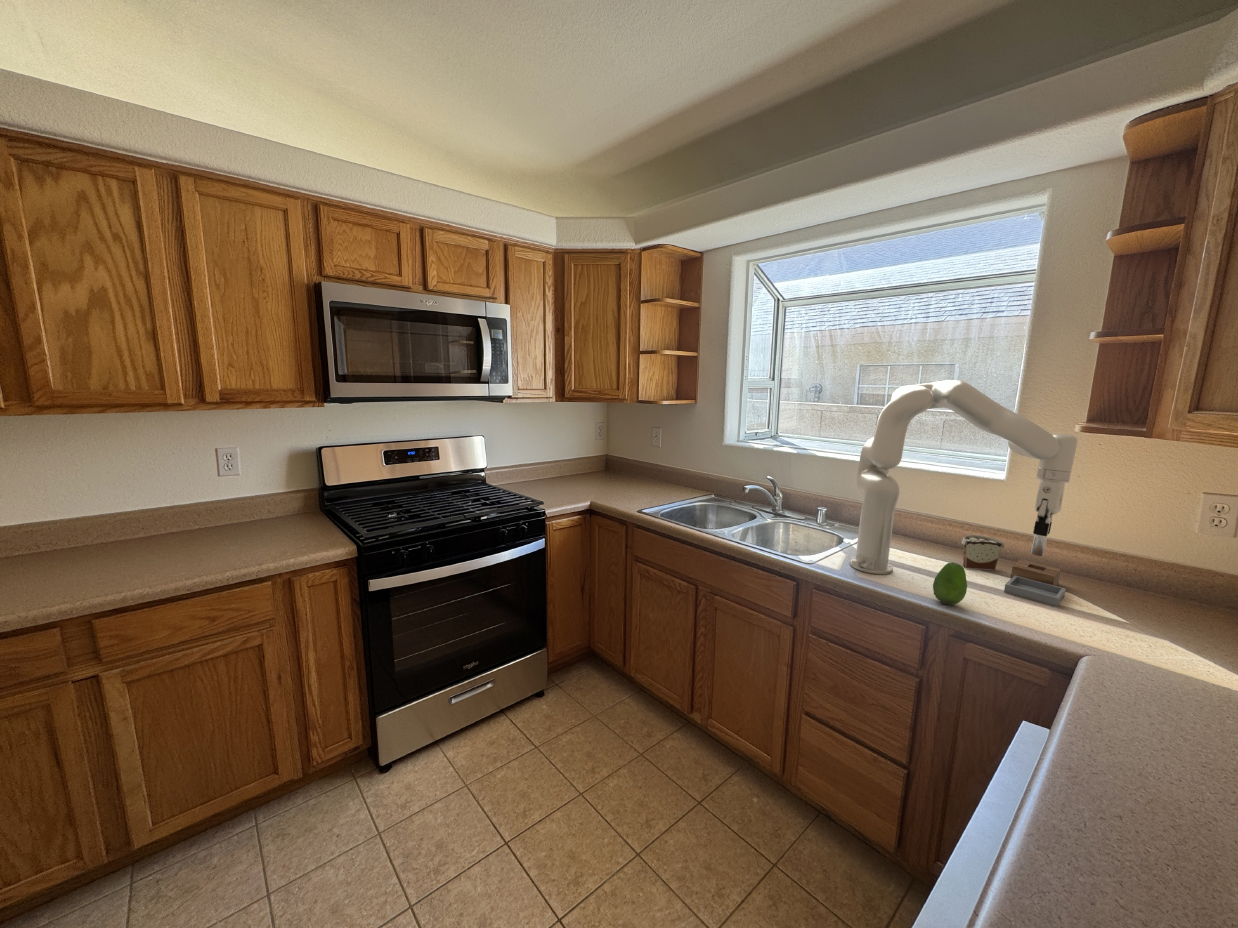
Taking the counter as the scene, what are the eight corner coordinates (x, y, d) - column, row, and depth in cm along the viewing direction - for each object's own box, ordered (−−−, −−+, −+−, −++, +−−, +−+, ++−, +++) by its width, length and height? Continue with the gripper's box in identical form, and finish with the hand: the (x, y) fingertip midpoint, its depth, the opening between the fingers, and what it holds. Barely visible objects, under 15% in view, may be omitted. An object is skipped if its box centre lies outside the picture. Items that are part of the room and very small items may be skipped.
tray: (1056, 606, 137) (1058, 598, 137) (1003, 592, 146) (1005, 584, 146) (1064, 596, 144) (1065, 588, 144) (1013, 582, 153) (1014, 575, 153)
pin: (1042, 556, 150) (1050, 518, 148) (1029, 553, 153) (1037, 516, 151) (1044, 554, 152) (1052, 517, 150) (1031, 551, 155) (1039, 514, 152)
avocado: (968, 611, 133) (974, 569, 131) (934, 606, 135) (940, 564, 133) (959, 599, 140) (965, 559, 138) (927, 594, 143) (933, 555, 141)
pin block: (1051, 592, 147) (1054, 576, 146) (1010, 581, 155) (1012, 565, 154) (1058, 583, 153) (1061, 568, 153) (1017, 573, 161) (1020, 559, 160)
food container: (988, 563, 169) (992, 535, 168) (1000, 570, 163) (1005, 541, 162) (950, 561, 171) (954, 533, 169) (960, 568, 165) (965, 539, 163)
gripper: (1064, 480, 140) (1051, 542, 143) (1074, 474, 151) (1062, 532, 154) (1031, 475, 146) (1019, 535, 149) (1042, 470, 156) (1031, 526, 159)
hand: (1041, 533), depth 151 cm, fingers closed on pin, 3 cm apart
